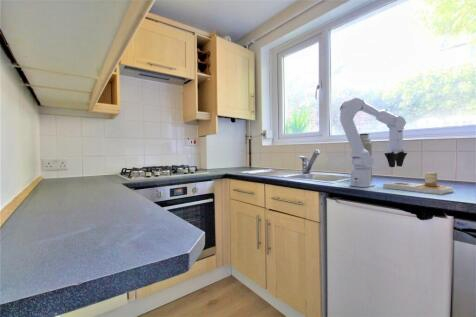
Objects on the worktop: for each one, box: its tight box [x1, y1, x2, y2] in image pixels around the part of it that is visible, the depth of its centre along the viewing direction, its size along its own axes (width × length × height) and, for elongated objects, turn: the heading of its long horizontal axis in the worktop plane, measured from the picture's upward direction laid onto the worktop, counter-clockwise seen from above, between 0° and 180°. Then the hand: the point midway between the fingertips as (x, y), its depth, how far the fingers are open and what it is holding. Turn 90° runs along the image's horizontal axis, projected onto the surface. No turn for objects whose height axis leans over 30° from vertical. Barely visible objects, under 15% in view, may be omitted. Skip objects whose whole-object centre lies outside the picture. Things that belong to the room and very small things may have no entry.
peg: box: [424, 171, 438, 187], centre depth 100 cm, size 4×4×8 cm
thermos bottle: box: [359, 133, 373, 180], centre depth 139 cm, size 8×8×28 cm
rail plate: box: [382, 181, 454, 196], centre depth 104 cm, size 12×22×2 cm, turn 31°
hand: (395, 166), depth 118 cm, fingers open, 7 cm apart
